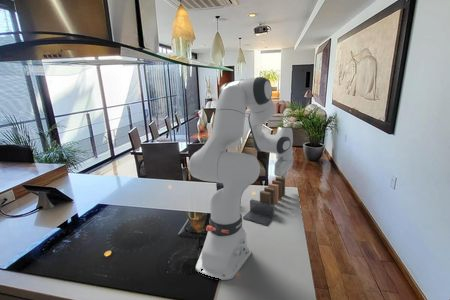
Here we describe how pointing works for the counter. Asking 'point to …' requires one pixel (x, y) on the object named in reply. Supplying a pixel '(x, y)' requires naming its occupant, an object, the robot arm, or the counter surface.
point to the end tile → (282, 184)
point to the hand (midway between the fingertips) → (283, 178)
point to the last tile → (265, 197)
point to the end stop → (260, 212)
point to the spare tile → (275, 191)
